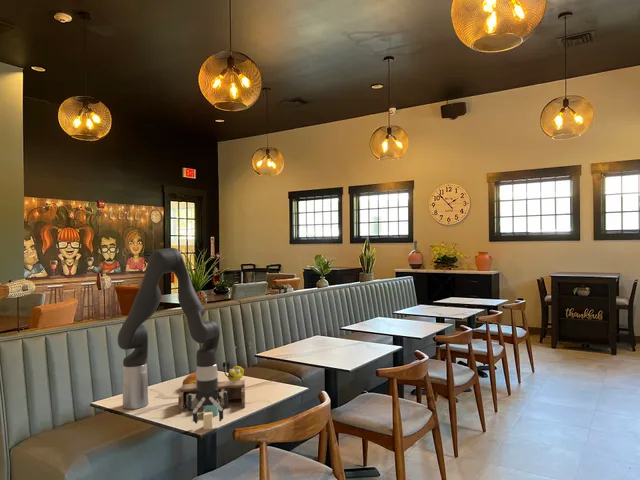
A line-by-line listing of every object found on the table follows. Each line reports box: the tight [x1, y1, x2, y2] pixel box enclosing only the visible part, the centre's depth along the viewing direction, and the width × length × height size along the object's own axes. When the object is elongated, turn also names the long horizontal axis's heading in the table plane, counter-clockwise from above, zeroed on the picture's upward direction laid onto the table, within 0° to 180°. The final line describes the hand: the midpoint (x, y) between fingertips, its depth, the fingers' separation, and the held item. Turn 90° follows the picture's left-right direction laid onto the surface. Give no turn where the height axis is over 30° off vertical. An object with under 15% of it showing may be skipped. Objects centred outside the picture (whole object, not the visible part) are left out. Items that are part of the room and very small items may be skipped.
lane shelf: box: [177, 379, 246, 414], centre depth 193 cm, size 26×13×8 cm, turn 99°
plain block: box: [186, 391, 198, 408], centre depth 194 cm, size 5×5×5 cm
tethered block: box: [203, 404, 219, 430], centre depth 177 cm, size 5×18×5 cm, turn 9°
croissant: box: [182, 371, 197, 385], centre depth 217 cm, size 14×16×8 cm
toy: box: [222, 361, 245, 381], centre depth 211 cm, size 6×14×15 cm
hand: (208, 421), depth 170 cm, fingers open, 8 cm apart
